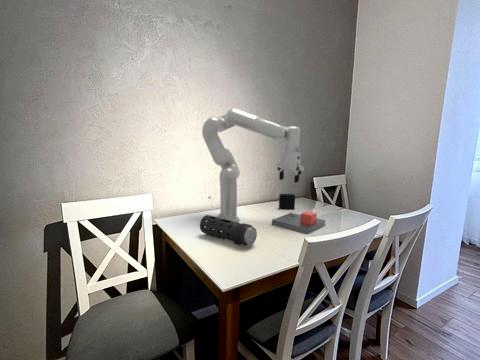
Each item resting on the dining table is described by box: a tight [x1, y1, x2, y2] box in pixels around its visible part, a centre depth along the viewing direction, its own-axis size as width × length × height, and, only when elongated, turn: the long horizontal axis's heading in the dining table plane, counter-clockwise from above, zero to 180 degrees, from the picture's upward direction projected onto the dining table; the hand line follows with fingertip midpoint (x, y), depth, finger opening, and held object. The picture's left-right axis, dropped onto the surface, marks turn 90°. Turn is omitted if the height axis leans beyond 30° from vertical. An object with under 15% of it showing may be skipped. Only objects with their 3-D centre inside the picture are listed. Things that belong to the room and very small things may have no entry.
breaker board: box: [271, 212, 326, 235], centre depth 162 cm, size 20×22×4 cm
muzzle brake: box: [199, 214, 258, 247], centre depth 137 cm, size 10×28×10 cm, turn 53°
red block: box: [300, 210, 318, 225], centre depth 158 cm, size 6×6×5 cm
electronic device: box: [278, 193, 296, 211], centre depth 196 cm, size 4×10×10 cm, turn 89°
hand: (288, 180), depth 160 cm, fingers open, 9 cm apart
